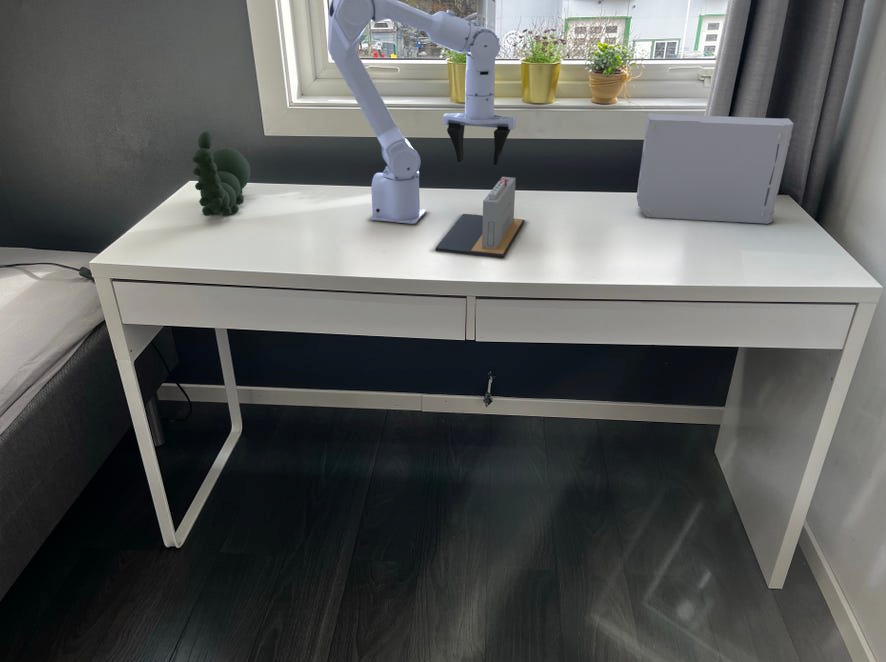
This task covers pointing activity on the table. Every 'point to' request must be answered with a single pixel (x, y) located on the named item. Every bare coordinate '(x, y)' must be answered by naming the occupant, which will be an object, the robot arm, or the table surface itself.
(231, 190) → the toy figurine
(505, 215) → the cassette player
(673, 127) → the game console
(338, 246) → the table surface
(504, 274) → the table surface
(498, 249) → the desk mat
